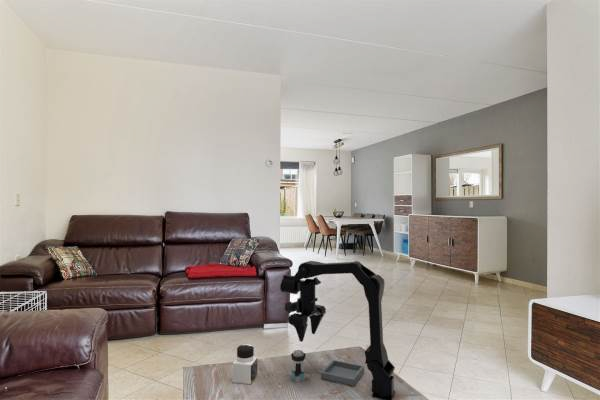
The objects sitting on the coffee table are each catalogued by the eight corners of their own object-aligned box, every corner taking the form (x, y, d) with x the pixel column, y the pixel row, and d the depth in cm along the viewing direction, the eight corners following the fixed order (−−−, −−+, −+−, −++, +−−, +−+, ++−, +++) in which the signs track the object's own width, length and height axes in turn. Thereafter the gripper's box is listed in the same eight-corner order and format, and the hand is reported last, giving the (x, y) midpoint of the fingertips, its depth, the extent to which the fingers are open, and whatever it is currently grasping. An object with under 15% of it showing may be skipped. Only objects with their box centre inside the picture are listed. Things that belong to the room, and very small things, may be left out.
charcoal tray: (364, 372, 141) (364, 365, 141) (353, 386, 130) (353, 379, 130) (333, 365, 147) (333, 359, 147) (320, 379, 135) (320, 372, 136)
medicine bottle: (251, 384, 131) (251, 350, 131) (232, 382, 132) (232, 349, 133) (257, 375, 138) (257, 343, 138) (239, 373, 139) (239, 341, 140)
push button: (308, 376, 138) (308, 349, 138) (309, 382, 133) (309, 354, 133) (290, 376, 138) (291, 349, 138) (290, 382, 132) (291, 354, 133)
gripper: (301, 288, 150) (301, 326, 149) (275, 297, 134) (275, 341, 133) (326, 291, 144) (326, 331, 144) (302, 302, 128) (301, 347, 128)
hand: (307, 337), depth 137 cm, fingers open, 9 cm apart
